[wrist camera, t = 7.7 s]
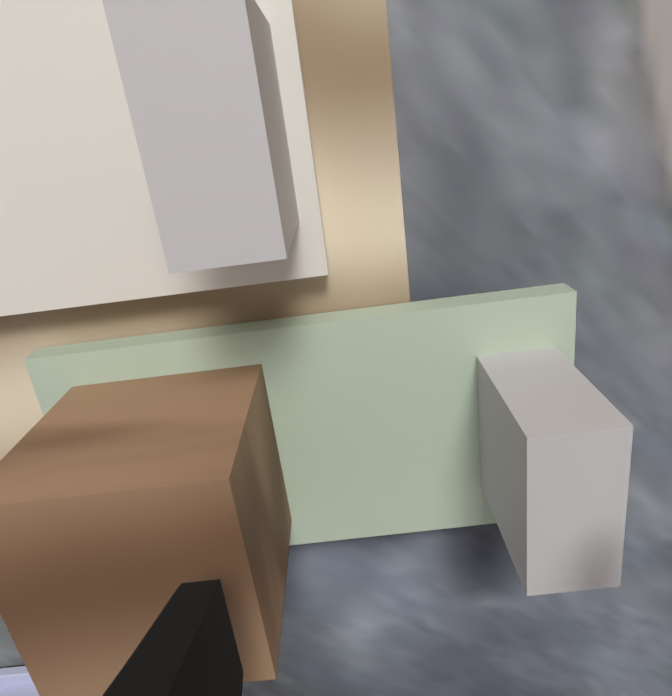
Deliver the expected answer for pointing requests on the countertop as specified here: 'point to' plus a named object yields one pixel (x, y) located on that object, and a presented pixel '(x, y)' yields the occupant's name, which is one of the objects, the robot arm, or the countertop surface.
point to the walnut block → (142, 522)
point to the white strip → (103, 170)
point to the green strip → (418, 422)
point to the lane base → (335, 201)
